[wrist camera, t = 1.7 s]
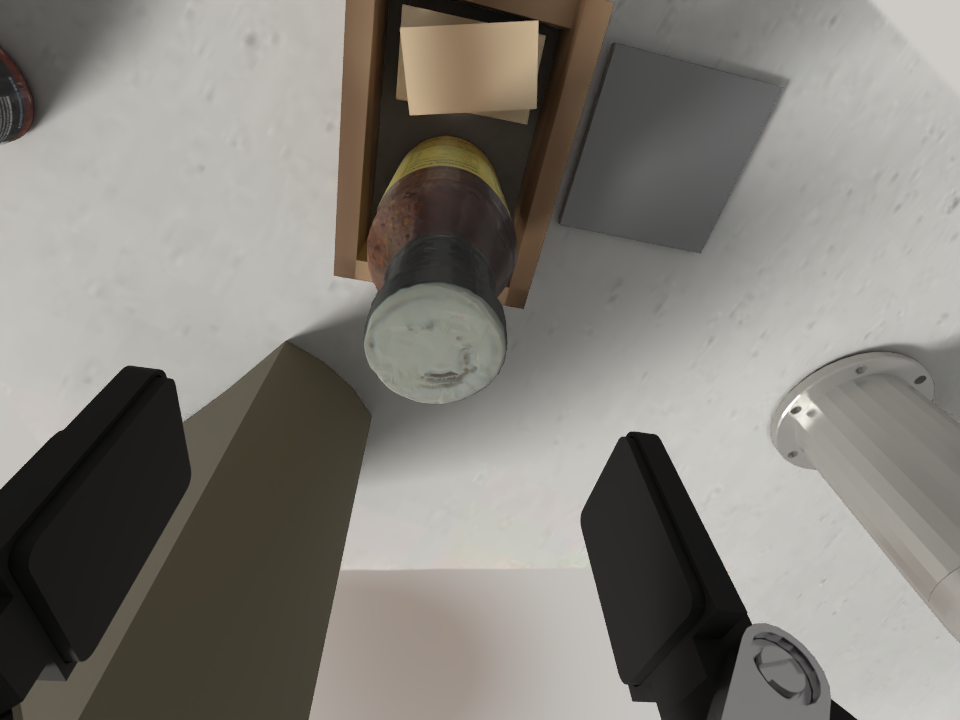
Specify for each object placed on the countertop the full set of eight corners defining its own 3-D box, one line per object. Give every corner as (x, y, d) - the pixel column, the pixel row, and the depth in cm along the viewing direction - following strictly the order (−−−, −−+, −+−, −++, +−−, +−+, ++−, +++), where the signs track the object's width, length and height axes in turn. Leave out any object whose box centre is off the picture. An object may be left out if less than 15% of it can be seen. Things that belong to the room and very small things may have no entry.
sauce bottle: (472, 247, 32) (484, 470, 16) (383, 210, 31) (293, 414, 14) (516, 152, 29) (587, 310, 13) (419, 105, 27) (355, 215, 11)
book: (295, 331, 36) (16, 852, 13) (379, 406, 41) (285, 896, 17) (125, 459, 42) (-273, 969, 19) (214, 512, 47) (-20, 979, 23)
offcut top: (530, 21, 23) (538, 20, 21) (529, 100, 25) (536, 108, 23) (406, 27, 23) (399, 27, 21) (415, 106, 25) (409, 115, 23)
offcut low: (537, 35, 26) (545, 35, 23) (521, 116, 28) (526, 124, 26) (408, 6, 25) (402, 4, 23) (401, 92, 27) (395, 98, 25)
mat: (776, 86, 27) (782, 87, 27) (697, 250, 33) (700, 253, 32) (613, 43, 26) (616, 43, 25) (558, 221, 31) (559, 224, 31)
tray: (589, 7, 25) (614, 2, 21) (515, 274, 33) (523, 308, 29) (369, -53, 23) (349, -72, 19) (350, 244, 32) (333, 275, 28)
